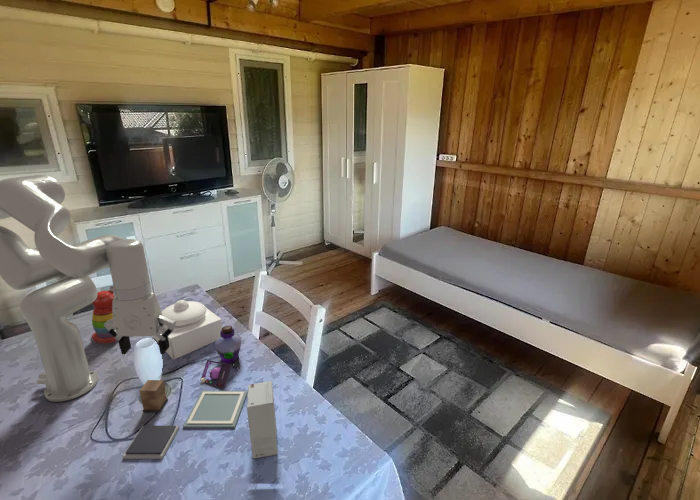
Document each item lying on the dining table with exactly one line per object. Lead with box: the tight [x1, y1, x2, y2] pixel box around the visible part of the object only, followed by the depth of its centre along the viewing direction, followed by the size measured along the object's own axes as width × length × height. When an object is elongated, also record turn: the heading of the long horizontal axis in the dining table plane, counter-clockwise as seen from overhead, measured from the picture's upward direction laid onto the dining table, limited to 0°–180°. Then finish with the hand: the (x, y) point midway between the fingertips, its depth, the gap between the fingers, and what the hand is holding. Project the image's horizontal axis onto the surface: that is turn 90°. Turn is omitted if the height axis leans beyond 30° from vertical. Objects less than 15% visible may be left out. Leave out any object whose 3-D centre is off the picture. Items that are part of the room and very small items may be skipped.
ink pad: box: [122, 424, 180, 460], centre depth 89 cm, size 9×9×1 cm
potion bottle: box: [214, 325, 242, 364], centre depth 118 cm, size 9×9×12 cm
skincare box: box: [246, 380, 278, 459], centre depth 87 cm, size 8×6×15 cm
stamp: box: [139, 379, 169, 414], centre depth 99 cm, size 4×4×7 cm
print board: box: [182, 390, 248, 429], centre depth 99 cm, size 13×13×1 cm
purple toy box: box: [200, 359, 232, 389], centre depth 111 cm, size 7×5×9 cm
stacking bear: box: [91, 289, 117, 344], centre depth 129 cm, size 11×10×18 cm
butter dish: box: [152, 299, 223, 360], centre depth 128 cm, size 18×18×16 cm
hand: (145, 351), depth 94 cm, fingers open, 9 cm apart
